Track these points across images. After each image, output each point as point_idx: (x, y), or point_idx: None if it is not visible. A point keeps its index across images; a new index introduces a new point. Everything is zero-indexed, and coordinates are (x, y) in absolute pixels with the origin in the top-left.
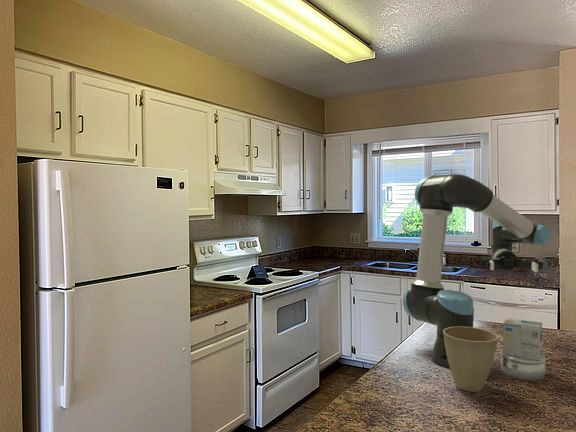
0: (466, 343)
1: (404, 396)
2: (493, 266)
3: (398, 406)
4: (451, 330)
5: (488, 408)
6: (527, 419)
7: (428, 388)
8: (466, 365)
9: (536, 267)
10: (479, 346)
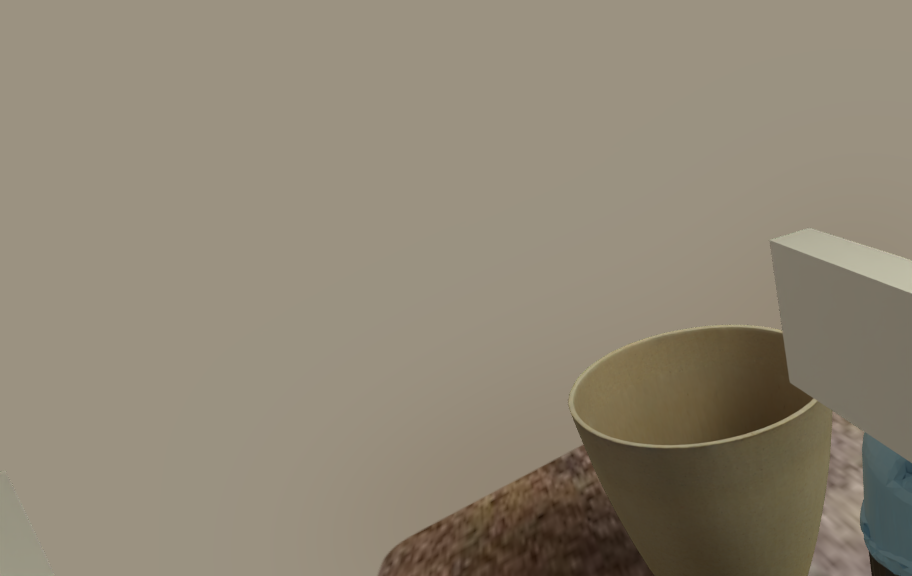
0: (667, 344)
1: (860, 433)
2: (788, 308)
3: None
4: None
5: (607, 511)
6: (494, 522)
7: (849, 506)
8: (688, 437)
9: (14, 533)
10: (622, 367)
